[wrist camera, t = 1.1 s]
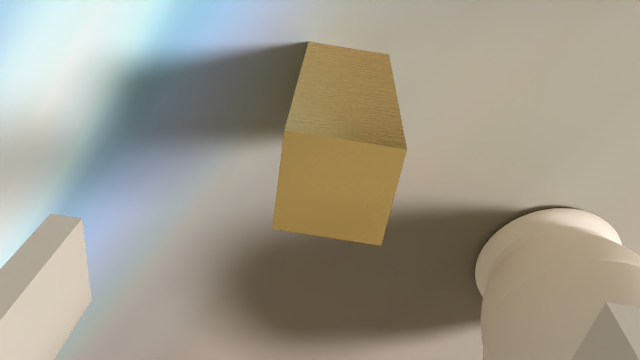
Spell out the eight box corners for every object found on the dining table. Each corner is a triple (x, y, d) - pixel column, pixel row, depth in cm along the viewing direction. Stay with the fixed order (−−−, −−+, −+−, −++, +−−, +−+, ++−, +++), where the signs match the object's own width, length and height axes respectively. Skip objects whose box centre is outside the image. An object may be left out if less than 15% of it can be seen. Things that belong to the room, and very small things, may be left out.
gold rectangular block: (298, 116, 27) (272, 228, 19) (308, 41, 25) (284, 129, 16) (372, 128, 27) (381, 245, 19) (389, 54, 25) (407, 149, 17)
